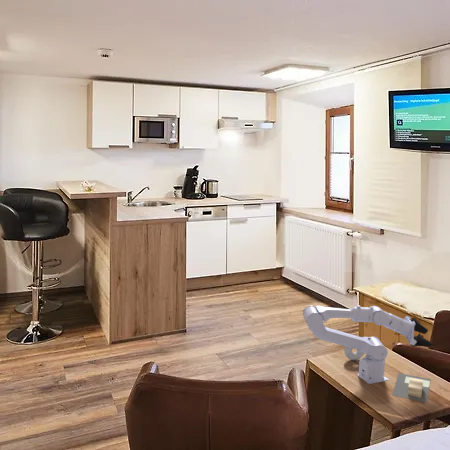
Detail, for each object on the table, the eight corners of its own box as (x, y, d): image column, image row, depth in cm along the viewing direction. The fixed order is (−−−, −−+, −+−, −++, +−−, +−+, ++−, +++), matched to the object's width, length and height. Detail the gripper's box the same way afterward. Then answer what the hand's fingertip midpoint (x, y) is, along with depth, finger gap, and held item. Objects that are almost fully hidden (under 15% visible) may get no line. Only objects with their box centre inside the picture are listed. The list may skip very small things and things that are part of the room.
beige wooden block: (420, 397, 174) (421, 389, 174) (407, 395, 176) (408, 386, 176) (422, 388, 181) (423, 379, 181) (409, 385, 183) (410, 377, 183)
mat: (427, 403, 171) (427, 402, 171) (392, 396, 176) (392, 394, 176) (430, 380, 189) (430, 378, 189) (398, 373, 194) (398, 372, 194)
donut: (361, 357, 210) (363, 335, 208) (366, 360, 207) (367, 338, 205) (342, 359, 207) (343, 338, 205) (346, 363, 204) (347, 341, 202)
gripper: (406, 330, 179) (438, 344, 179) (400, 306, 191) (430, 319, 192) (396, 342, 182) (427, 356, 183) (391, 317, 195) (420, 331, 195)
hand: (428, 338), depth 188 cm, fingers open, 7 cm apart
